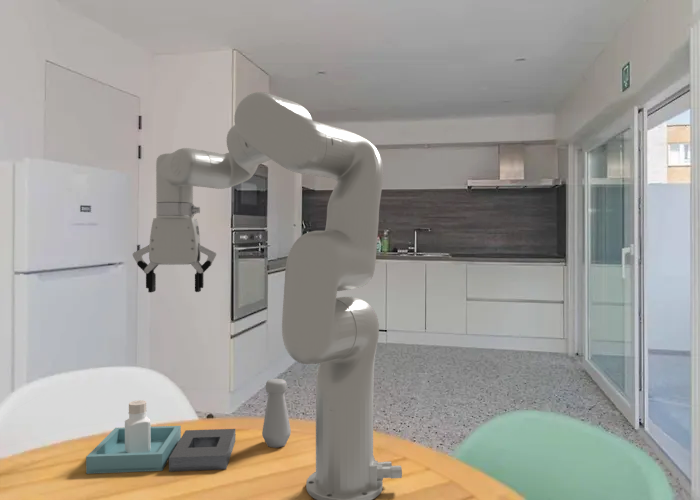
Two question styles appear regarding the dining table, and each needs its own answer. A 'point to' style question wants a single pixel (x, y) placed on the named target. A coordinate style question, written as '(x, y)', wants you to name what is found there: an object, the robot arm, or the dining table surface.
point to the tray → (116, 459)
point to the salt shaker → (276, 415)
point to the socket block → (203, 450)
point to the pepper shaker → (137, 428)
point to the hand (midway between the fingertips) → (175, 291)
